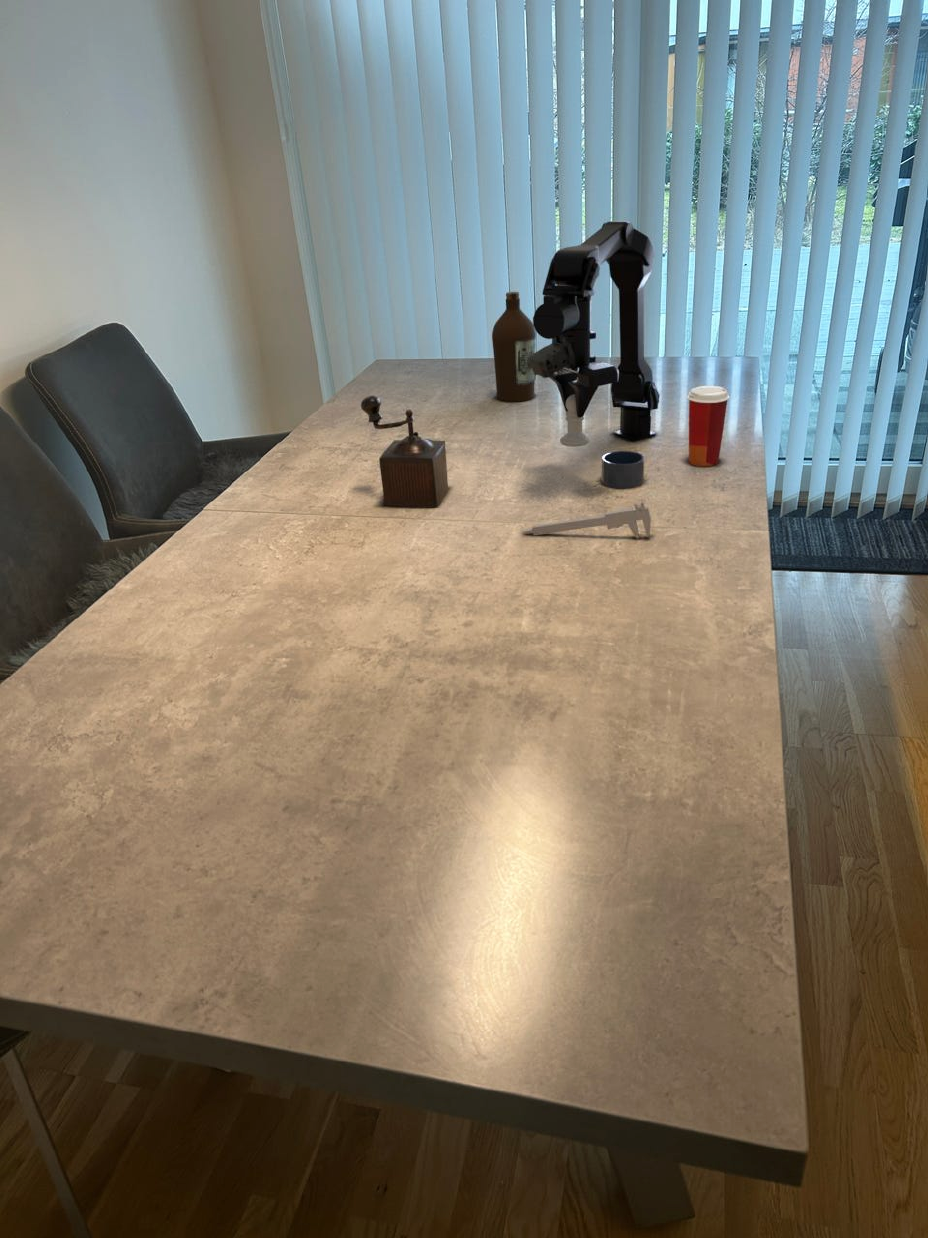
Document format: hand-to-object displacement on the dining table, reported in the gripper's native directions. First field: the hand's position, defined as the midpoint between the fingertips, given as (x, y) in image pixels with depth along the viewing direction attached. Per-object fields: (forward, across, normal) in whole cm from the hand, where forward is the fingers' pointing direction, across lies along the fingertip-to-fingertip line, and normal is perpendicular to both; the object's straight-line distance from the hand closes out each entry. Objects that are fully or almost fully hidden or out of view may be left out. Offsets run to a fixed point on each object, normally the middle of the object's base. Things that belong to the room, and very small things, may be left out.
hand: (574, 414), depth 163 cm
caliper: (+13, +22, -13) cm, 29 cm away
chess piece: (+6, 0, 0) cm, 6 cm away
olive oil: (+13, -58, +22) cm, 64 cm away
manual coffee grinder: (+13, -13, -30) cm, 35 cm away
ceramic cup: (+13, +6, +7) cm, 16 cm away
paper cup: (+13, +6, +26) cm, 30 cm away
